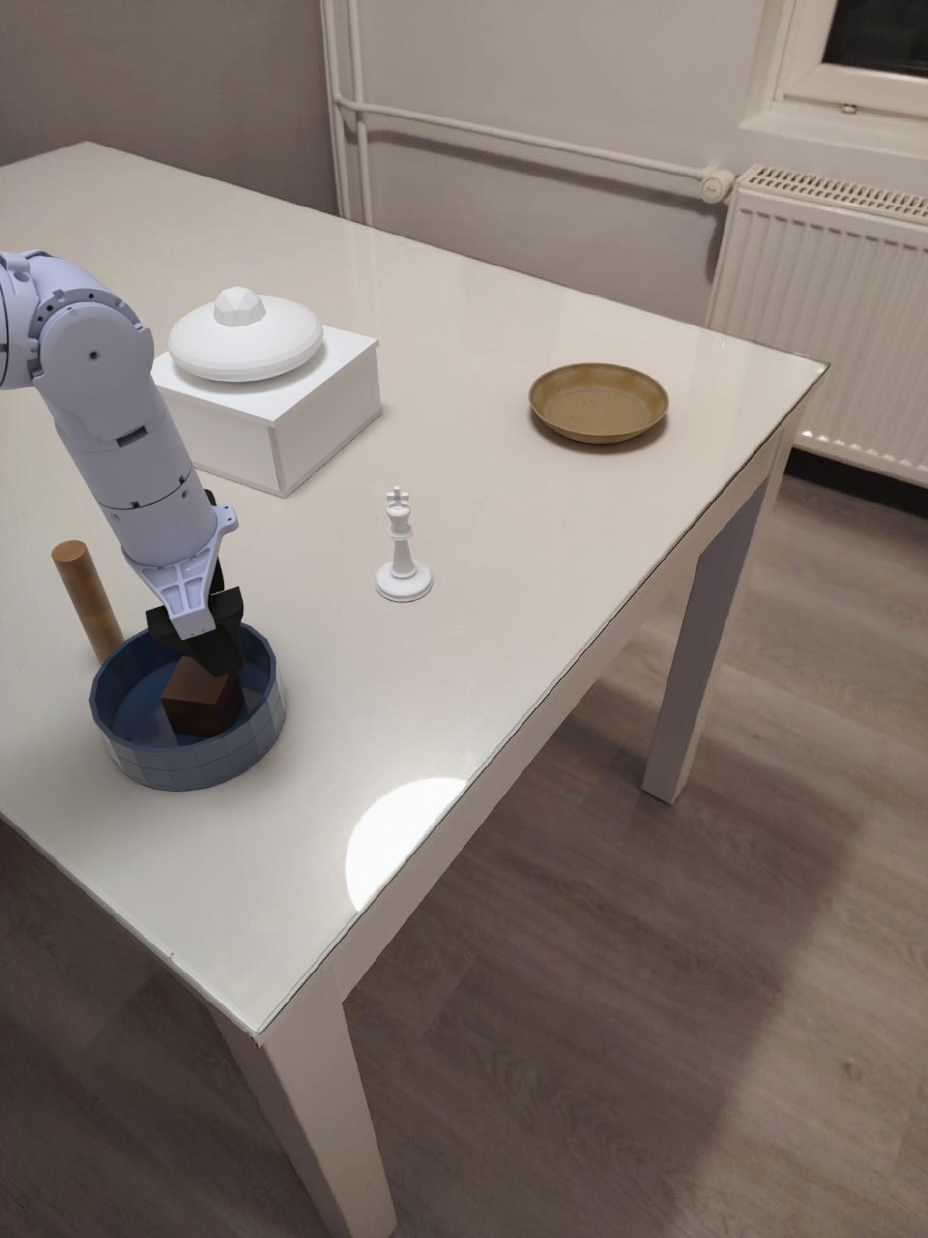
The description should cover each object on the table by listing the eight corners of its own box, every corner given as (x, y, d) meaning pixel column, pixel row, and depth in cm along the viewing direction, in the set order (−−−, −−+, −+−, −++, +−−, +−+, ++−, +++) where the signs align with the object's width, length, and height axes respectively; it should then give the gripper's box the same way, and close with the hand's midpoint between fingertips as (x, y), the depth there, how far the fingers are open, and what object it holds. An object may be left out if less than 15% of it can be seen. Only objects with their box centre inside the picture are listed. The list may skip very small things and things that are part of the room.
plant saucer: (581, 472, 86) (583, 450, 84) (501, 405, 95) (501, 384, 93) (694, 429, 91) (698, 408, 90) (608, 370, 101) (611, 349, 99)
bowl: (77, 779, 61) (55, 739, 57) (152, 647, 70) (137, 607, 66) (252, 802, 59) (240, 763, 56) (306, 665, 68) (298, 624, 65)
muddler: (93, 666, 68) (44, 559, 60) (107, 644, 70) (61, 538, 62) (122, 669, 68) (76, 563, 60) (135, 647, 70) (92, 541, 62)
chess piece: (431, 602, 73) (426, 507, 66) (373, 601, 73) (362, 506, 66) (434, 563, 76) (429, 469, 69) (378, 563, 77) (368, 469, 70)
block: (173, 733, 63) (159, 697, 60) (194, 691, 65) (181, 655, 63) (226, 740, 62) (214, 704, 59) (244, 697, 65) (234, 661, 62)
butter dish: (253, 376, 100) (226, 235, 89) (385, 414, 94) (373, 269, 83) (147, 452, 89) (100, 302, 78) (288, 501, 83) (259, 346, 72)
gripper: (233, 532, 45) (299, 686, 55) (192, 389, 54) (255, 543, 65) (98, 576, 44) (191, 725, 54) (80, 422, 53) (162, 574, 64)
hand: (219, 629), depth 59 cm, fingers open, 7 cm apart
